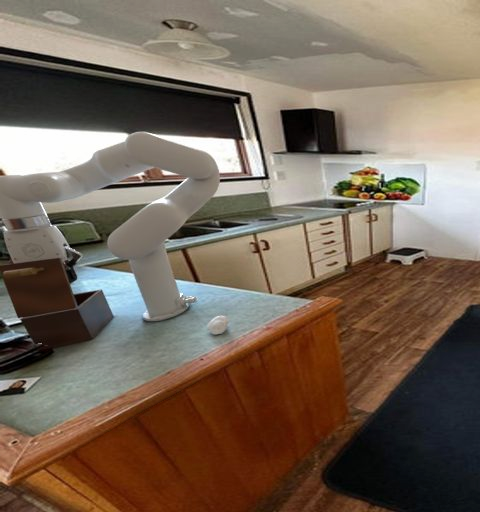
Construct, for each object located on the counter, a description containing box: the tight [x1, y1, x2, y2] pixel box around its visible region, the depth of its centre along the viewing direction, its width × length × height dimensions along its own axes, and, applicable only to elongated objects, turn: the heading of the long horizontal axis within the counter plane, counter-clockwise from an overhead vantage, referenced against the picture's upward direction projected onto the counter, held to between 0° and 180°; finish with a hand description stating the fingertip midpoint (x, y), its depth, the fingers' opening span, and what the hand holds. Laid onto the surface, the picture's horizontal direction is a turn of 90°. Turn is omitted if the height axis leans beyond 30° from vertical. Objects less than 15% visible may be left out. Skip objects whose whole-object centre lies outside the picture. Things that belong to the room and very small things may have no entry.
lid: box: [0, 258, 78, 319], centre depth 71 cm, size 14×12×5 cm
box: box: [19, 289, 115, 352], centre depth 82 cm, size 14×12×10 cm
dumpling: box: [206, 315, 229, 336], centre depth 81 cm, size 7×5×4 cm
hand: (58, 283), depth 79 cm, fingers closed on lemon, 5 cm apart
